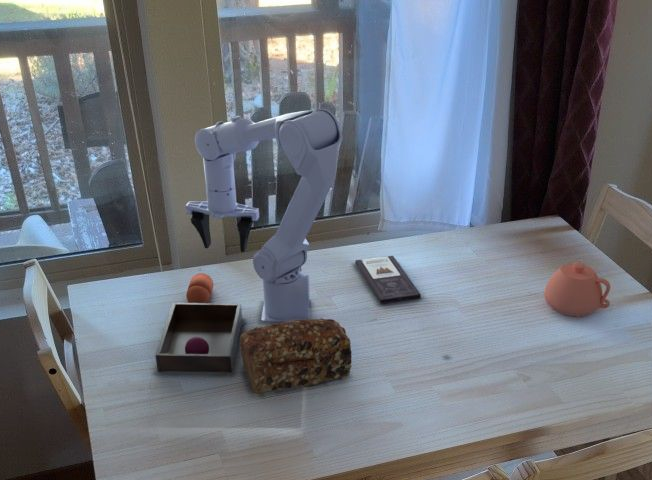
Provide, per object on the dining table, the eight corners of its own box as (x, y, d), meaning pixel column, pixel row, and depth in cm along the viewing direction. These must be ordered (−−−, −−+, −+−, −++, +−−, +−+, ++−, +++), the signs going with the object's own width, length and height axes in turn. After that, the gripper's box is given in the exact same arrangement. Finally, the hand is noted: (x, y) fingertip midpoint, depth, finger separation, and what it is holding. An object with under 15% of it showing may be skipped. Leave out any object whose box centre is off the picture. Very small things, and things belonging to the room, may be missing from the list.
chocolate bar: (380, 299, 174) (355, 260, 187) (380, 303, 174) (355, 264, 188) (420, 294, 177) (392, 255, 190) (420, 298, 177) (392, 259, 191)
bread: (253, 398, 147) (250, 352, 141) (240, 365, 155) (236, 320, 149) (353, 380, 152) (354, 335, 147) (335, 349, 160) (335, 305, 154)
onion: (211, 352, 157) (209, 332, 154) (208, 365, 153) (206, 345, 150) (188, 351, 156) (185, 332, 154) (184, 365, 153) (181, 345, 150)
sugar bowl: (553, 286, 184) (561, 245, 178) (614, 304, 179) (624, 262, 173) (534, 311, 175) (541, 268, 169) (597, 330, 170) (607, 287, 164)
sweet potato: (193, 289, 176) (189, 269, 173) (216, 288, 176) (212, 268, 173) (186, 312, 169) (182, 292, 166) (210, 311, 169) (206, 291, 166)
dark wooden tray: (242, 321, 167) (241, 303, 164) (232, 374, 152) (230, 356, 150) (175, 320, 166) (172, 302, 164) (158, 373, 151) (155, 355, 149)
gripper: (178, 190, 161) (185, 253, 169) (251, 197, 160) (254, 260, 168) (189, 176, 166) (196, 237, 175) (260, 183, 165) (263, 244, 174)
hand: (225, 248), depth 172 cm, fingers open, 7 cm apart
